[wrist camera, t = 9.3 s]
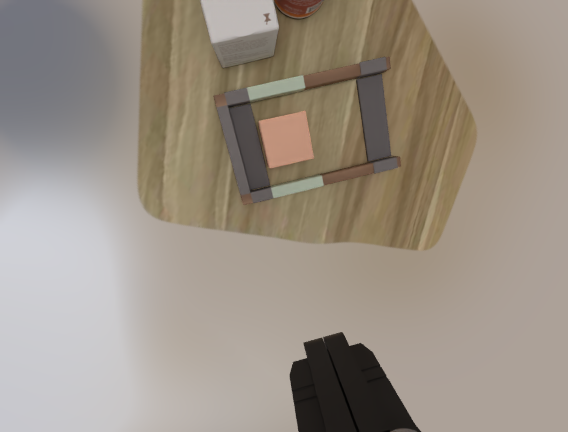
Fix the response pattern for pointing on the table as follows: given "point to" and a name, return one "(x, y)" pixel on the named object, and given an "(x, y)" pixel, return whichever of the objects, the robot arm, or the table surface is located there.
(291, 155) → the terracotta block
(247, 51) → the product box
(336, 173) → the frame
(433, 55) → the table surface
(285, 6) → the pill bottle
